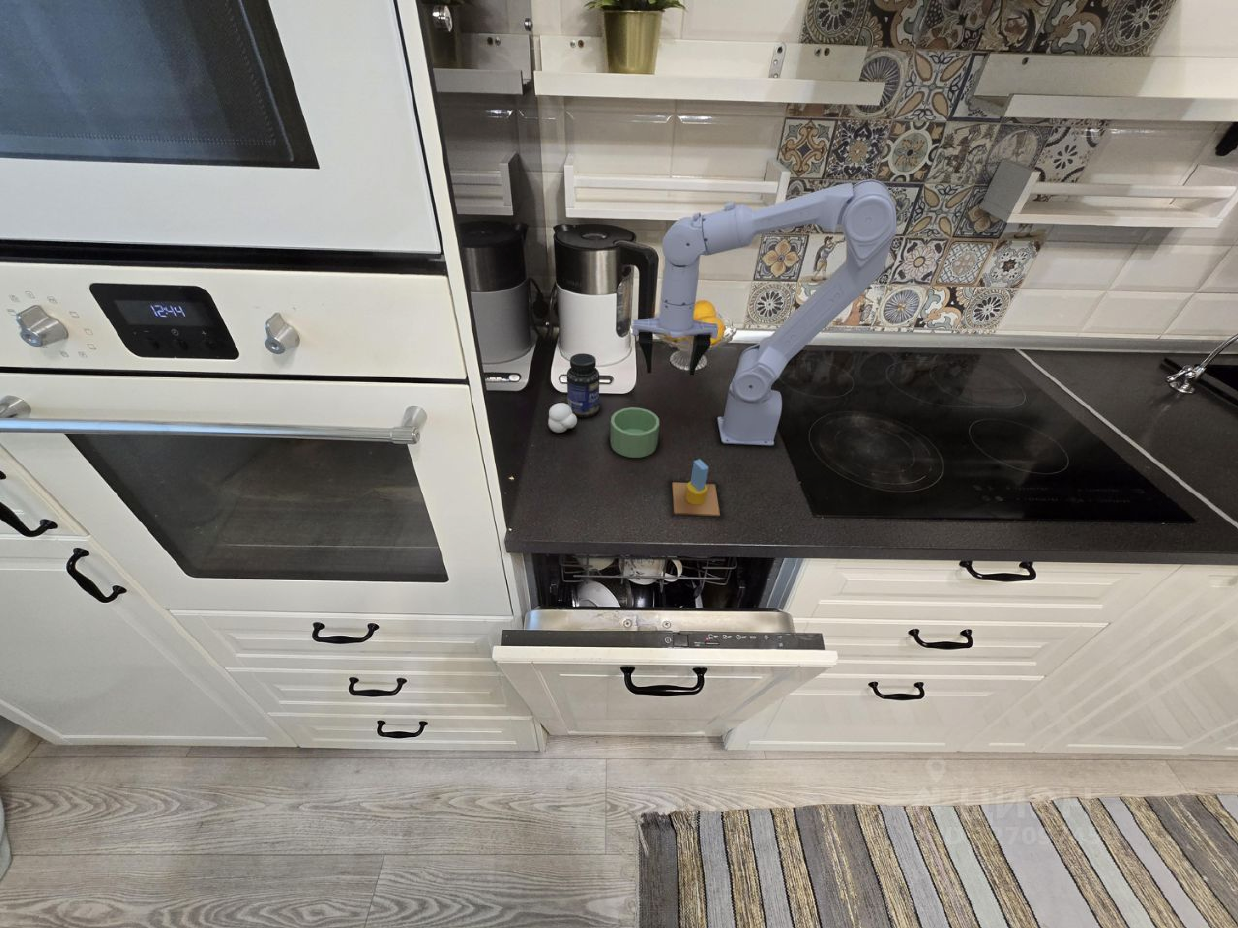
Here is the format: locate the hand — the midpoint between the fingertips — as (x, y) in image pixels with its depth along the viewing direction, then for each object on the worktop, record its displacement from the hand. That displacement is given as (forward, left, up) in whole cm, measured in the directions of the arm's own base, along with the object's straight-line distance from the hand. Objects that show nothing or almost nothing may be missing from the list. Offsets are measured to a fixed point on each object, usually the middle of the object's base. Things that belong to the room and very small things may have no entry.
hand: (670, 371), depth 93 cm
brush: (-4, +23, -10) cm, 25 cm away
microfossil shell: (+19, +6, -10) cm, 22 cm away
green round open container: (+6, +9, -10) cm, 15 cm away
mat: (-4, +23, -10) cm, 25 cm away
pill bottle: (+16, -1, -10) cm, 19 cm away
